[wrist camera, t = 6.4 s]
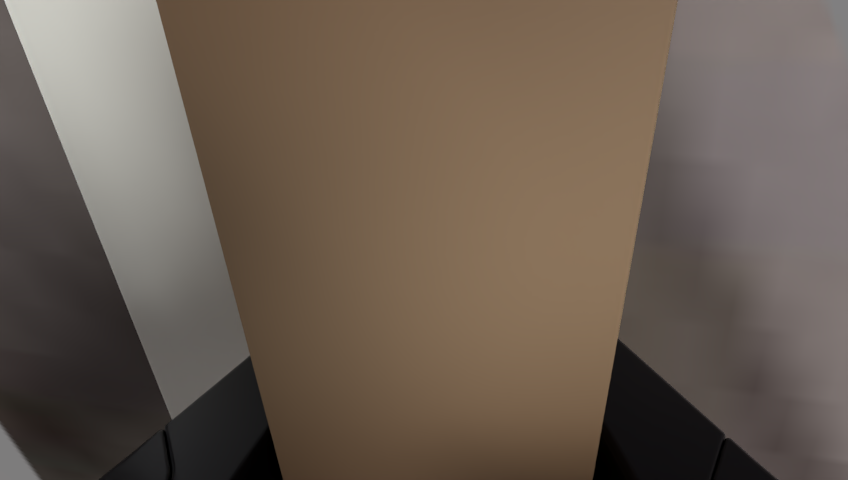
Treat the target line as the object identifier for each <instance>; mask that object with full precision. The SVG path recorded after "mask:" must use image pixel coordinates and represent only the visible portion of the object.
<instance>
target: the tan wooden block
mask: <svg viewBox="0 0 848 480" xmlns="http://www.w3.org/2000/svg"><path fill="white" fill-rule="evenodd" d="M677 1H678V0H156V3H157V6H158V10H159V14H160V18H161V21H162V25H163V29H164V33H165V36H166V40H167V44H168V48H169V51H170V55H171V59H172V63H173V67H174V70H175V74H176V78H177V82H178V85H179V89H180V93H181V97H182V100H183V104H184V108H185V112H186V116H187V119H188V123H189V127H190V131H191V134H192V138H193V142H194V146H195V149H196V153H197V157H198V161H199V165H200V168H201V172H202V176H203V180H204V183H205V187H206V191H207V195H208V198H209V202H210V206H211V210H212V214H213V217H214V221H215V225H216V229H217V232H218V236H219V240H220V244H221V247H222V251H223V255H224V259H225V263H226V266H227V270H228V274H229V278H230V281H231V285H232V289H233V293H234V296H235V300H236V304H237V308H238V312H239V315H240V319H241V323H242V327H243V330H244V334H245V338H246V342H247V345H248V349H249V353H250V357H251V361H252V364H253V368H254V372H255V376H256V379H257V383H258V387H259V391H260V394H261V398H262V402H263V406H264V410H265V413H266V417H267V421H268V425H269V428H270V432H271V436H272V440H273V443H274V447H275V451H276V455H277V458H278V462H279V466H280V470H281V474H282V477H283V480H593V475H594V469H595V463H596V458H597V452H598V446H599V441H600V435H601V429H602V424H603V418H604V413H605V407H606V401H607V396H608V390H609V384H610V379H611V373H612V368H613V362H614V356H615V351H616V345H617V339H618V334H619V328H620V322H621V317H622V311H623V306H624V300H625V294H626V289H627V283H628V277H629V272H630V266H631V260H632V255H633V249H634V244H635V238H636V232H637V227H638V221H639V215H640V210H641V204H642V199H643V193H644V187H645V182H646V176H647V170H648V165H649V159H650V153H651V148H652V142H653V137H654V131H655V125H656V120H657V114H658V108H659V103H660V97H661V92H662V86H663V80H664V75H665V69H666V63H667V58H668V52H669V46H670V41H671V35H672V30H673V24H674V18H675V13H676V7H677Z"/></svg>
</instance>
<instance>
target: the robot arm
mask: <svg viewBox="0 0 848 480" xmlns="http://www.w3.org/2000/svg"><path fill="white" fill-rule="evenodd" d="M99 480H283V477H282V474H281V470H280V466H279V462H278V458H277V455H276V451H275V447H274V443H273V440H272V436H271V432H270V428H269V425H268V421H267V417H266V413H265V410H264V406H263V402H262V398H261V394H260V391H259V387H258V383H257V379H256V376H255V372H254V368H253V364H252V361H251V357H250V356H248V357H247V358H246V359H245V360H244V361H242V362H241V363H240V364H239V365H238V366H236V367H235V368H234V369H233V370H232V371H230V372H229V373H228V374H227V375H226V376H224V377H223V378H222V379H221V380H220V381H218V382H217V383H216V384H215V385H213V386H212V387H211V388H210V389H209V390H207V391H206V392H205V393H204V394H203V395H201V396H200V397H199V398H198V399H197V400H195V401H194V402H193V403H192V404H191V405H189V406H188V407H187V408H186V409H185V410H183V411H182V412H181V413H180V414H179V415H177V416H176V417H175V418H174V419H173V420H171V421H170V422H169V423H168V424H167V425H166V426H165V431H164V430H159V431H158V432H157V433H155V434H154V435H153V436H152V437H151V438H149V439H148V440H147V441H146V442H145V443H143V444H142V445H141V446H140V447H139V448H137V449H136V450H135V451H134V452H132V453H131V454H130V455H129V456H127V457H126V458H125V459H124V460H122V461H121V462H120V463H119V464H117V465H116V466H115V467H114V468H112V469H111V470H110V471H109V472H107V473H106V474H105V475H104V476H102V477H101V478H100V479H99ZM593 480H778V479H777V478H775V477H774V476H773V475H772V474H771V473H770V472H768V471H767V470H766V469H765V468H764V467H762V466H761V465H760V464H759V463H758V462H757V461H755V460H754V459H753V458H752V457H751V456H750V455H749V454H748V453H746V452H745V451H744V450H743V449H742V448H741V447H740V446H739V445H737V444H736V443H735V442H734V441H733V440H732V439H730V438H726V439H725V434H724V432H722V431H721V430H720V429H719V428H718V427H717V426H716V425H715V424H713V423H712V422H711V421H710V420H709V419H708V418H707V417H706V416H704V415H703V414H702V413H701V412H700V411H699V410H698V409H697V408H695V407H694V406H693V405H692V404H691V403H690V402H689V401H688V400H686V399H685V398H684V397H683V396H682V395H681V394H680V393H679V392H677V391H676V390H675V389H674V388H673V387H672V386H671V385H670V384H668V383H667V382H666V381H665V380H664V379H663V378H662V377H661V376H659V375H658V374H657V373H656V372H655V371H654V370H653V369H652V368H650V367H649V366H648V365H647V364H646V363H645V362H644V361H643V360H641V359H640V358H639V357H638V356H637V355H636V354H635V353H634V352H632V351H631V350H630V349H629V348H628V347H627V346H626V345H625V344H623V343H622V342H621V341H620V340H619V339H617V345H616V351H615V356H614V362H613V368H612V373H611V379H610V384H609V390H608V396H607V401H606V407H605V413H604V418H603V424H602V429H601V435H600V441H599V446H598V452H597V458H596V463H595V469H594V475H593Z"/></svg>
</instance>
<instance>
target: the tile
mask: <svg viewBox="0 0 848 480" xmlns="http://www.w3.org/2000/svg"><path fill="white" fill-rule="evenodd" d="M4 1H5V3H6V6H7V8H8V11H9V13H10V16H11V18H12V21H13V23H14V26H15V28H16V31H17V33H18V36H19V38H20V41H21V43H22V46H23V48H24V51H25V53H26V56H27V59H28V61H29V64H30V66H31V69H32V71H33V74H34V76H35V79H36V81H37V84H38V86H39V89H40V91H41V94H42V96H43V99H44V101H45V104H46V106H47V109H48V111H49V114H50V116H51V119H52V121H53V124H54V126H55V129H56V131H57V134H58V136H59V139H60V141H61V144H62V146H63V149H64V151H65V154H66V156H67V159H68V161H69V164H70V166H71V169H72V171H73V174H74V176H75V179H76V181H77V184H78V186H79V189H80V191H81V194H82V196H83V199H84V201H85V204H86V206H87V209H88V211H89V214H90V216H91V219H92V221H93V224H94V226H95V229H96V231H97V234H98V236H99V239H100V241H101V244H102V246H103V249H104V251H105V254H106V256H107V259H108V261H109V264H110V266H111V269H112V271H113V274H114V276H115V279H116V281H117V284H118V286H119V289H120V291H121V294H122V296H123V299H124V301H125V304H126V306H127V309H128V311H129V314H130V316H131V319H132V321H133V324H134V326H135V329H136V331H137V334H138V336H139V339H140V341H141V344H142V346H143V349H144V351H145V354H146V356H147V359H148V361H149V364H150V366H151V369H152V371H153V374H154V376H155V379H156V381H157V384H158V386H159V389H160V391H161V394H162V396H163V399H164V401H165V404H166V406H167V409H168V411H169V414H170V416H171V419H172V420H173V419H174V418H175V417H176V416H177V415H179V414H180V413H181V412H182V411H183V410H185V409H186V408H187V407H188V406H189V405H191V404H192V403H193V402H194V401H195V400H197V399H198V398H199V397H200V396H201V395H203V394H204V393H205V392H206V391H207V390H209V389H210V388H211V387H212V386H213V385H215V384H216V383H217V382H218V381H220V380H221V379H222V378H223V377H224V376H226V375H227V374H228V373H229V372H230V371H232V370H233V369H234V368H235V367H236V366H238V365H239V364H240V363H241V362H242V361H244V360H245V359H246V358H247V357H248V356H250V353H249V349H248V345H247V342H246V338H245V334H244V330H243V327H242V323H241V319H240V315H239V312H238V308H237V304H236V300H235V296H234V293H233V289H232V285H231V281H230V278H229V274H228V270H227V266H226V263H225V259H224V255H223V251H222V247H221V244H220V240H219V236H218V232H217V229H216V225H215V221H214V217H213V214H212V210H211V206H210V202H209V198H208V195H207V191H206V187H205V183H204V180H203V176H202V172H201V168H200V165H199V161H198V157H197V153H196V149H195V146H194V142H193V138H192V134H191V131H190V127H189V123H188V119H187V116H186V112H185V108H184V104H183V100H182V97H181V93H180V89H179V85H178V82H177V78H176V74H175V70H174V67H173V63H172V59H171V55H170V51H169V48H168V44H167V40H166V36H165V33H164V29H163V25H162V21H161V18H160V14H159V10H158V6H157V3H156V0H4Z"/></svg>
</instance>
